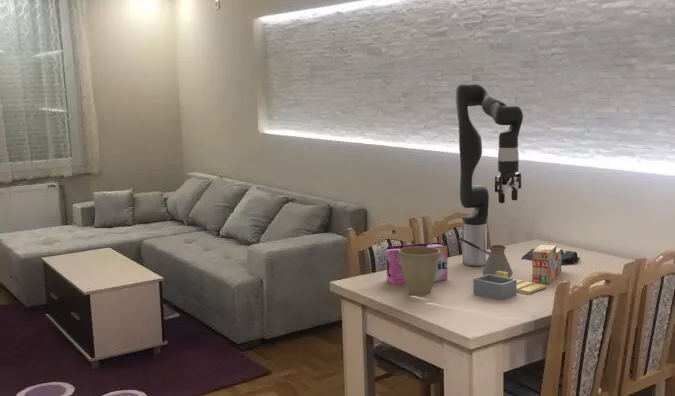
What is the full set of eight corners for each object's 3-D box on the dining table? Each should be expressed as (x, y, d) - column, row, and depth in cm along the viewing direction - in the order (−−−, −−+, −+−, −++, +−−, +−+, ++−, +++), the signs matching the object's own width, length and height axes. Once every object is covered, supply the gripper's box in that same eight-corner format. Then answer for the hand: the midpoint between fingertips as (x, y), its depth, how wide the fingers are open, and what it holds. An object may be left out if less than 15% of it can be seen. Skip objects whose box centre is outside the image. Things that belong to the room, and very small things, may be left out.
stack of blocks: (545, 269, 289) (546, 239, 288) (561, 271, 286) (561, 240, 285) (532, 282, 271) (532, 250, 269) (548, 284, 268) (549, 251, 266)
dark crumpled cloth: (537, 253, 319) (537, 243, 319) (583, 260, 304) (583, 249, 303) (518, 259, 309) (518, 249, 308) (565, 267, 293) (565, 256, 292)
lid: (488, 287, 265) (488, 273, 264) (505, 281, 273) (505, 268, 272) (529, 296, 253) (529, 281, 252) (545, 289, 260) (545, 275, 259)
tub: (473, 295, 256) (473, 278, 255) (488, 290, 262) (488, 274, 261) (501, 301, 247) (501, 284, 246) (516, 296, 253) (516, 279, 252)
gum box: (389, 285, 272) (388, 250, 270) (383, 280, 280) (382, 246, 278) (448, 279, 278) (447, 245, 276) (440, 275, 285) (440, 241, 283)
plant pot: (430, 301, 250) (429, 256, 248) (392, 295, 258) (391, 252, 256) (447, 290, 263) (446, 248, 260) (410, 285, 270) (410, 244, 268)
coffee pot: (516, 277, 278) (516, 239, 276) (507, 284, 268) (507, 245, 266) (464, 271, 289) (464, 235, 287) (453, 278, 279) (453, 240, 277)
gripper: (510, 157, 278) (510, 198, 280) (488, 160, 268) (488, 203, 271) (527, 158, 272) (527, 200, 275) (505, 161, 263) (505, 204, 265)
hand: (508, 201), depth 273 cm, fingers open, 8 cm apart
